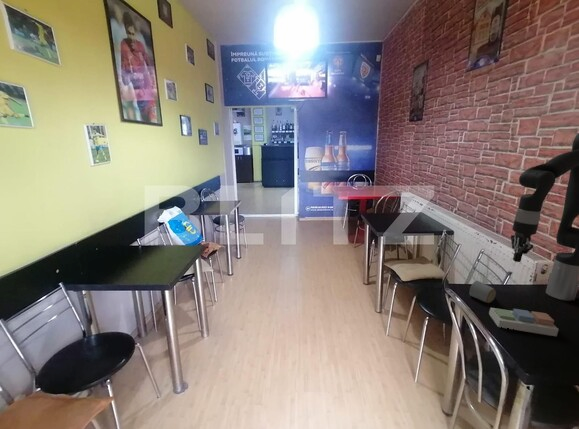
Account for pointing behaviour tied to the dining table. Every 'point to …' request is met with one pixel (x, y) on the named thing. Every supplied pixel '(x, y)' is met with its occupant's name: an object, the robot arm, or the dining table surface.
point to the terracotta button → (542, 318)
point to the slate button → (523, 315)
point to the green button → (504, 314)
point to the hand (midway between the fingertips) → (516, 261)
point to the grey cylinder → (482, 292)
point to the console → (523, 325)
